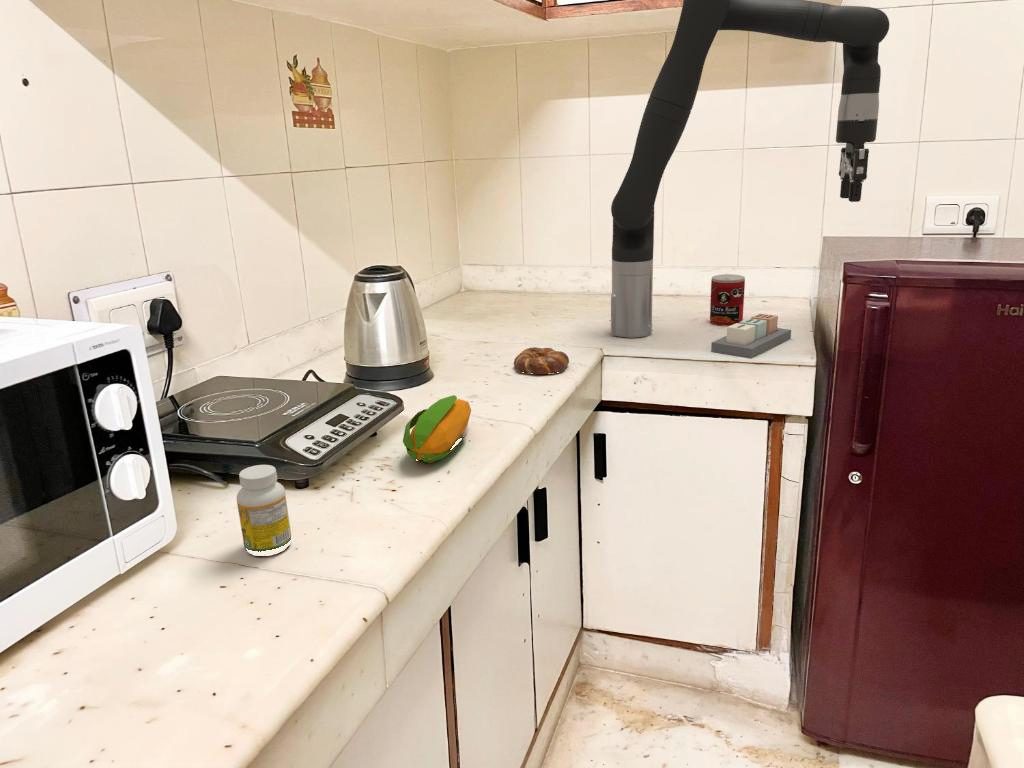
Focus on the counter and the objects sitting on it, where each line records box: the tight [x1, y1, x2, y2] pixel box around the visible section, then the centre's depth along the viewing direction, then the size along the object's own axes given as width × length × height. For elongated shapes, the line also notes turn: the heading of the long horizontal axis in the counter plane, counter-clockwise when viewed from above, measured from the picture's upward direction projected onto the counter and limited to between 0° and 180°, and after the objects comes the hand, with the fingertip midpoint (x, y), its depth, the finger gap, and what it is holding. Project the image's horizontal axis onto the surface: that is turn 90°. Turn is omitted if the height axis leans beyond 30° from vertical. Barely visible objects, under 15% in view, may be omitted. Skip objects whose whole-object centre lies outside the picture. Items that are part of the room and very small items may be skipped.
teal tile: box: [739, 317, 767, 340], centre depth 164 cm, size 4×4×4 cm
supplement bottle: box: [236, 464, 292, 552], centre depth 88 cm, size 5×5×10 cm
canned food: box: [709, 273, 746, 326], centre depth 183 cm, size 8×8×11 cm
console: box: [710, 327, 792, 359], centre depth 164 cm, size 9×19×2 cm, turn 138°
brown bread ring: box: [513, 346, 570, 375], centre depth 154 cm, size 12×11×4 cm
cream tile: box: [726, 323, 755, 345], centre depth 160 cm, size 4×4×4 cm
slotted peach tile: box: [750, 313, 779, 334], centre depth 167 cm, size 4×4×4 cm
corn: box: [402, 394, 472, 464], centre depth 116 cm, size 7×8×20 cm
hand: (849, 199), depth 160 cm, fingers open, 8 cm apart
